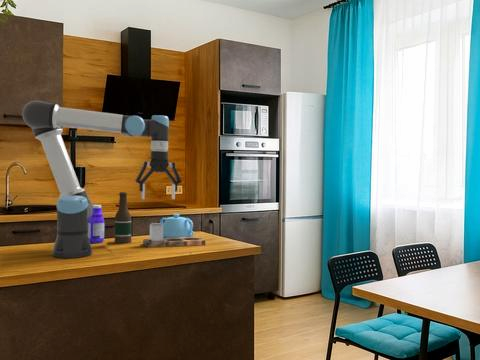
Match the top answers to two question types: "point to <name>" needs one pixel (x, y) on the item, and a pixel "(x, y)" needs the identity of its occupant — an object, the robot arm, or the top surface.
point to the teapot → (177, 227)
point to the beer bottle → (123, 221)
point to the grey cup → (156, 232)
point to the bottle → (96, 225)
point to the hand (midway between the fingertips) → (158, 199)
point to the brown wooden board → (175, 242)
